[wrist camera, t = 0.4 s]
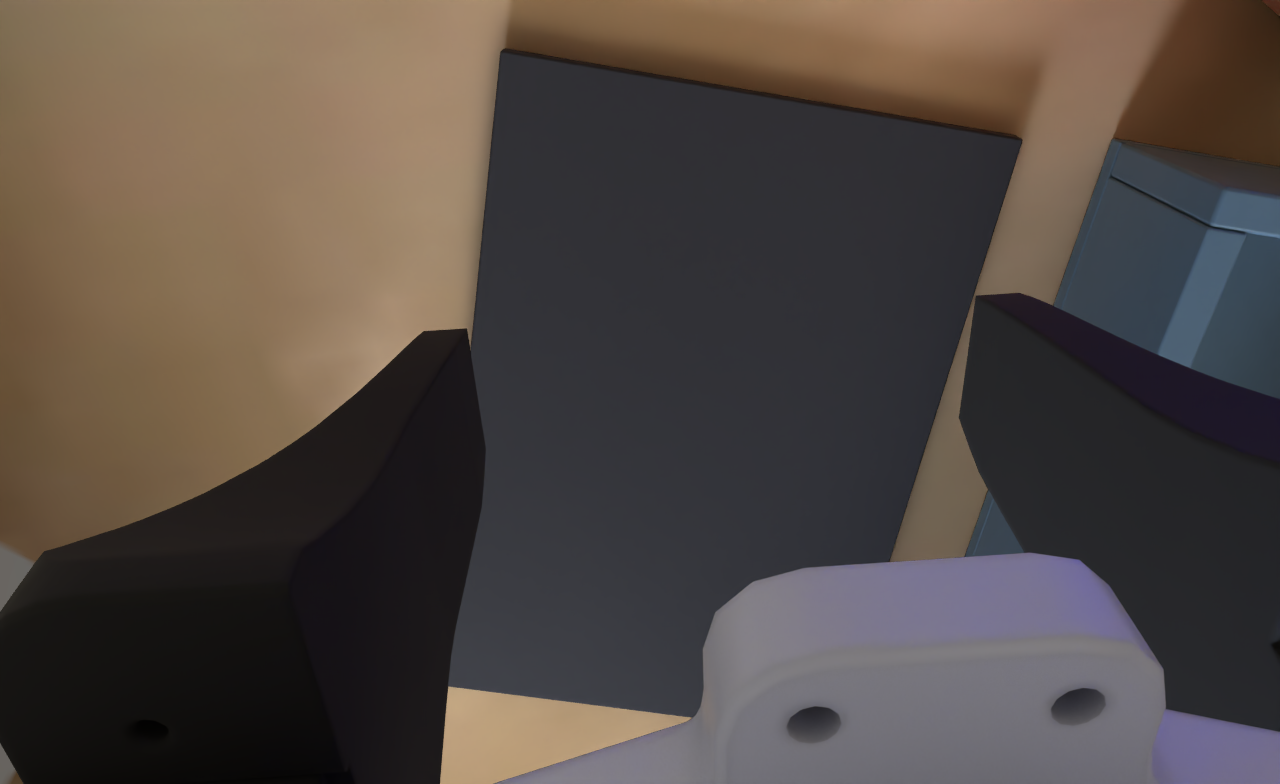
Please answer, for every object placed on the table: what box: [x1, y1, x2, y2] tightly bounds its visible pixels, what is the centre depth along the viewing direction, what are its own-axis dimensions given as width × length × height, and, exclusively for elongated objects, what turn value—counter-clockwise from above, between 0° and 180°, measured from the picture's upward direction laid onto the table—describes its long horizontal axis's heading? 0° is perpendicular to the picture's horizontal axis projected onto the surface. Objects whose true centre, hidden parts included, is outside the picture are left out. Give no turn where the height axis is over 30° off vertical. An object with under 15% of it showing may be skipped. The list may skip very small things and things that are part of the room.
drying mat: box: [448, 49, 1022, 718], centre depth 26 cm, size 18×12×1 cm, turn 171°
